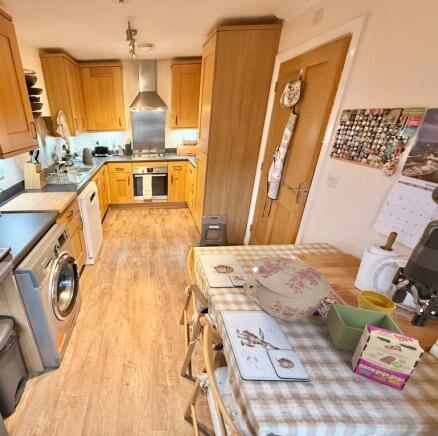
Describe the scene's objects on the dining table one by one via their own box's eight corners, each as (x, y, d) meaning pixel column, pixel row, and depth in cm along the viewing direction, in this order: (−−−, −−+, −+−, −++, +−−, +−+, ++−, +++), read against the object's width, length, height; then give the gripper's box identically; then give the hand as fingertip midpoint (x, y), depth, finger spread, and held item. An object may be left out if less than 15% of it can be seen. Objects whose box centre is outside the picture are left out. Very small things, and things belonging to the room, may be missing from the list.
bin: (378, 333, 85) (388, 313, 81) (396, 362, 75) (409, 340, 71) (324, 322, 90) (331, 302, 86) (335, 347, 80) (343, 326, 76)
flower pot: (391, 321, 89) (401, 301, 86) (380, 333, 85) (390, 313, 81) (358, 304, 98) (366, 286, 94) (347, 314, 93) (354, 295, 89)
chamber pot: (319, 299, 101) (332, 259, 93) (319, 347, 81) (336, 301, 72) (251, 278, 116) (258, 242, 108) (237, 314, 95) (243, 273, 87)
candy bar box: (396, 376, 71) (418, 338, 64) (402, 391, 67) (426, 352, 60) (349, 359, 76) (366, 322, 70) (352, 372, 72) (370, 335, 66)
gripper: (481, 283, 48) (445, 338, 55) (432, 250, 61) (407, 298, 67) (433, 276, 51) (403, 330, 57) (395, 246, 63) (374, 292, 69)
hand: (405, 312), depth 62 cm, fingers open, 8 cm apart
